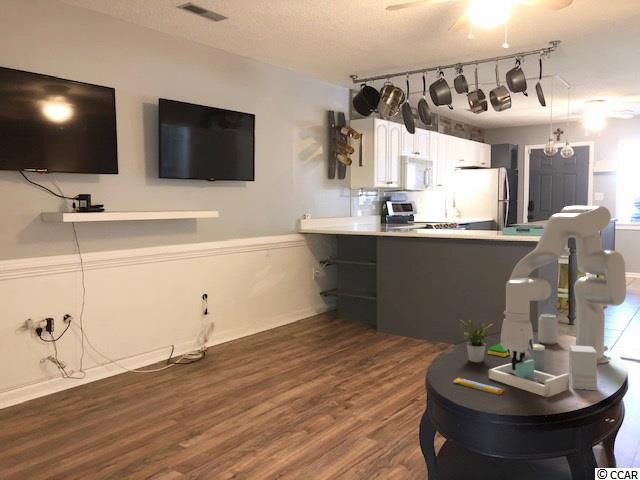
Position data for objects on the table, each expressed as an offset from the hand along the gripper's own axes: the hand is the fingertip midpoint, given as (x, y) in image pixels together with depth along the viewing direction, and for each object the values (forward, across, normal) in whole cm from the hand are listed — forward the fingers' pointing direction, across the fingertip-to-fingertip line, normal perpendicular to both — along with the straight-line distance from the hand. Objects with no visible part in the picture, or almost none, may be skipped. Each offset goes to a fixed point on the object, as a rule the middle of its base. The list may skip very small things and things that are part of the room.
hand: (517, 369), depth 175 cm
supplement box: (+4, +16, +12) cm, 20 cm away
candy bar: (+4, -3, -16) cm, 17 cm away
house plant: (+4, -24, +6) cm, 25 cm away
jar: (+4, -2, +14) cm, 15 cm away
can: (+4, -21, +51) cm, 55 cm away
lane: (+4, +4, 0) cm, 5 cm away
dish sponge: (+4, -24, +25) cm, 35 cm away
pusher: (+3, +5, 0) cm, 6 cm away
